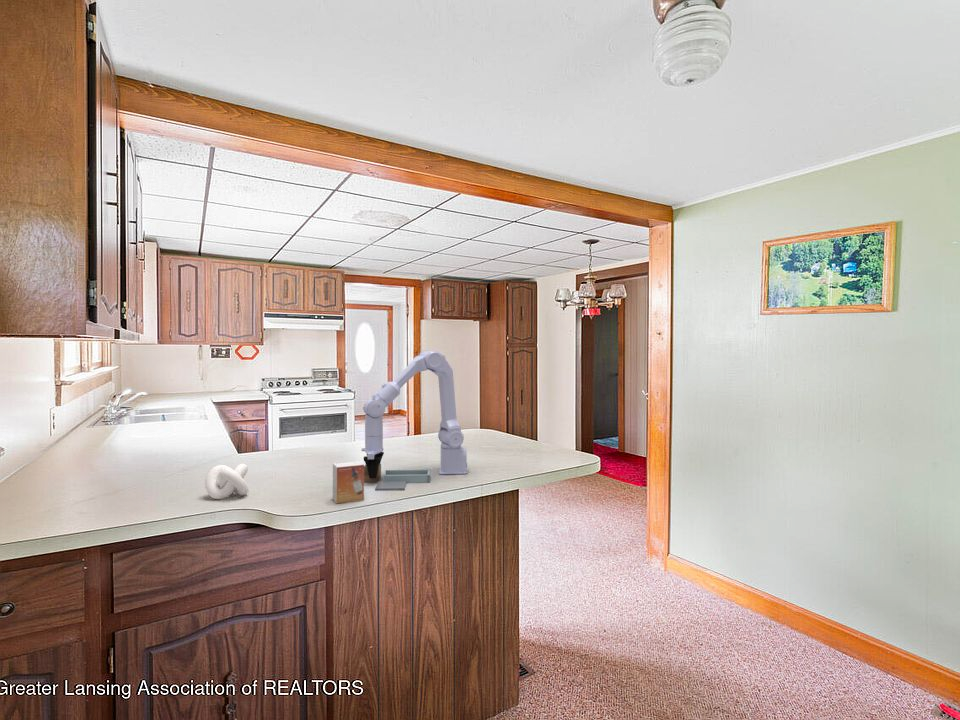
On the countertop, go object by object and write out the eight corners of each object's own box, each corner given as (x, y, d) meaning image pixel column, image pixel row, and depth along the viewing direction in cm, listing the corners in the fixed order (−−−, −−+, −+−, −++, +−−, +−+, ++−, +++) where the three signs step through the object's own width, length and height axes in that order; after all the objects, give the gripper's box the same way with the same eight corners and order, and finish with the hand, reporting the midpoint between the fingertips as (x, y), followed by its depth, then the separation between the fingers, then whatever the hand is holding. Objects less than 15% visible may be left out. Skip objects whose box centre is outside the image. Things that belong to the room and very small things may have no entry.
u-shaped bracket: (430, 476, 168) (430, 469, 168) (429, 482, 161) (429, 475, 161) (385, 477, 167) (385, 470, 167) (383, 483, 160) (383, 475, 160)
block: (381, 478, 166) (381, 464, 165) (378, 482, 162) (378, 466, 161) (366, 478, 165) (366, 464, 165) (363, 482, 161) (363, 466, 161)
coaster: (406, 482, 162) (406, 480, 162) (404, 490, 153) (404, 488, 153) (379, 482, 161) (379, 480, 161) (375, 490, 152) (375, 488, 152)
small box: (336, 504, 139) (336, 467, 139) (332, 498, 144) (332, 463, 144) (364, 500, 143) (364, 464, 142) (359, 495, 148) (359, 460, 147)
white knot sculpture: (261, 494, 148) (261, 464, 148) (222, 505, 138) (222, 473, 137) (239, 488, 154) (239, 459, 154) (200, 498, 144) (200, 467, 144)
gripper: (365, 431, 170) (365, 470, 170) (357, 439, 156) (357, 482, 156) (385, 431, 170) (385, 470, 171) (380, 439, 156) (380, 482, 156)
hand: (374, 476), depth 163 cm, fingers closed on block, 4 cm apart
